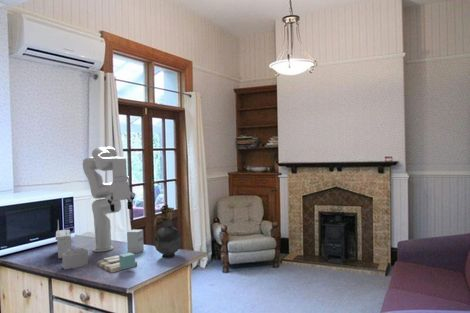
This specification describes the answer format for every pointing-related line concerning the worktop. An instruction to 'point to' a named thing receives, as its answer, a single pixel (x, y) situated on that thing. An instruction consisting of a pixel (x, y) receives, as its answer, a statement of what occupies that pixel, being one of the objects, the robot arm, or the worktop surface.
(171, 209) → the pitcher
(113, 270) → the ticket board
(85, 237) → the worktop surface
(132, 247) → the supplement box
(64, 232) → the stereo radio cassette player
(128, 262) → the block
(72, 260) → the lumpy-topped squat cylinder
